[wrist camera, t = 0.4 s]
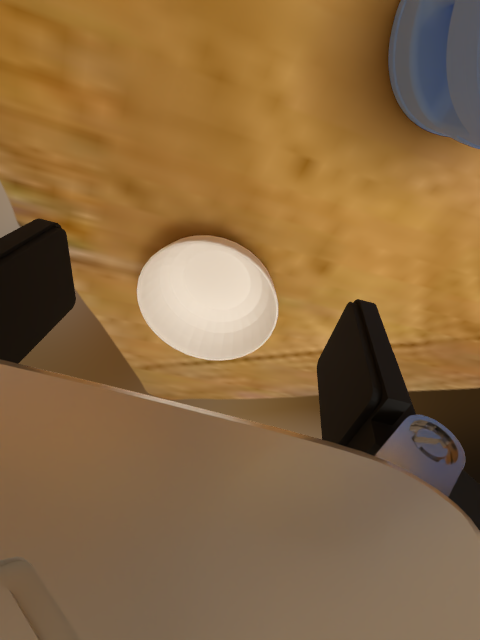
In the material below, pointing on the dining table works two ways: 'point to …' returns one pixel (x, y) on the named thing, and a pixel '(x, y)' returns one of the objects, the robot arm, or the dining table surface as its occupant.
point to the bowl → (208, 298)
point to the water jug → (438, 66)
